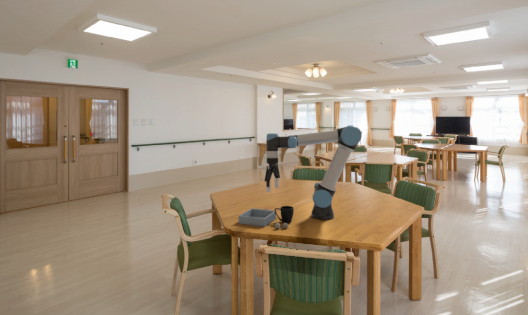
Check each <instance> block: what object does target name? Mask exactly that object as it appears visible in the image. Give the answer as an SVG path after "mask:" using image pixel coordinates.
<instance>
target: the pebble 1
mask: <svg viewBox="0 0 528 315" xmlns="http://www.w3.org/2000/svg"><path fill="white" fill-rule="evenodd" d="M274 228H275V229H276V230H279V229H280V228H281V224H280V222H276V223H275V224H274Z"/></svg>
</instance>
